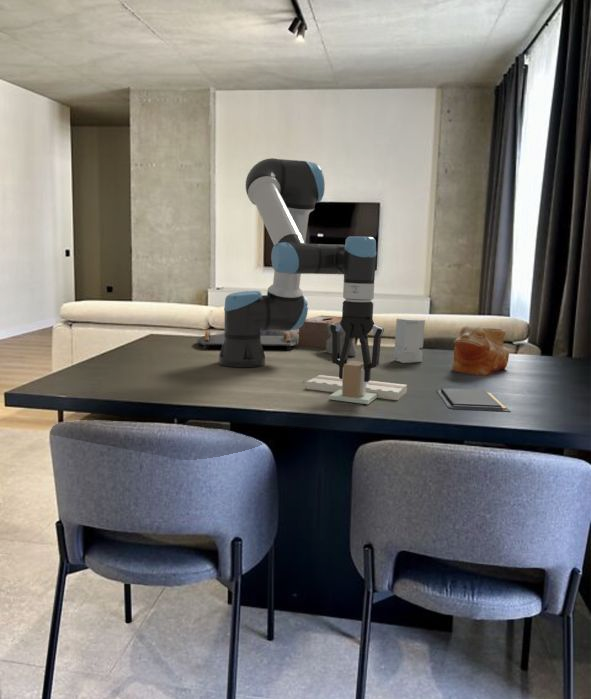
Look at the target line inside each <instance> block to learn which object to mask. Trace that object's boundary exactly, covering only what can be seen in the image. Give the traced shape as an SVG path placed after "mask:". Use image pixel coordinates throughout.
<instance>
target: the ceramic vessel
mask: <svg viewBox="0 0 591 699" xmlns="http://www.w3.org/2000/svg"><path fill="white" fill-rule="evenodd" d="M505 335H506V330H505V329H501V328H493V327H480V326H470V325H465V326H463V327H462V328H461V329H460V331H459V335H458V337H457V338H456V339H455V340H454V341H453V344H454V346H455V347H454V349H453V363H452V367H451V370H452V371H453V372H457V373H458V372H459V373H462V374H469V375H477V376H488V375H492V374H494V373H498V372H504V371H505V370H506V367H507V365H508V362H509V357H510V352H509V350H508V348H506V347H505V346H504V341H505Z"/></svg>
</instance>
